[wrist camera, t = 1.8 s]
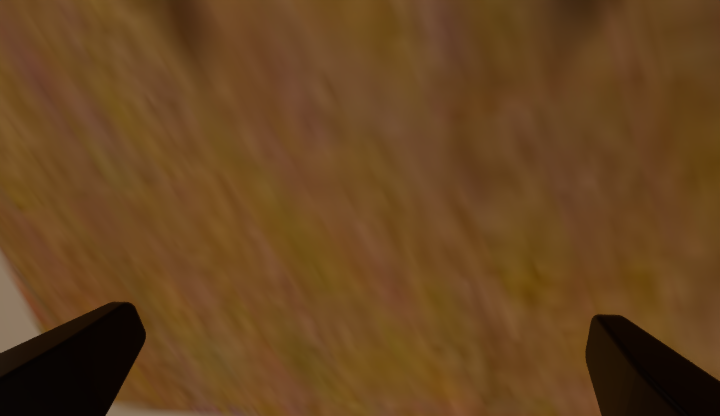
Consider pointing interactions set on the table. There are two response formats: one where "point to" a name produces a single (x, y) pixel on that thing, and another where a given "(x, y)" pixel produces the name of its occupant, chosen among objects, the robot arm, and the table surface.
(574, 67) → the table surface
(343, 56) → the table surface
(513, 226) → the table surface
